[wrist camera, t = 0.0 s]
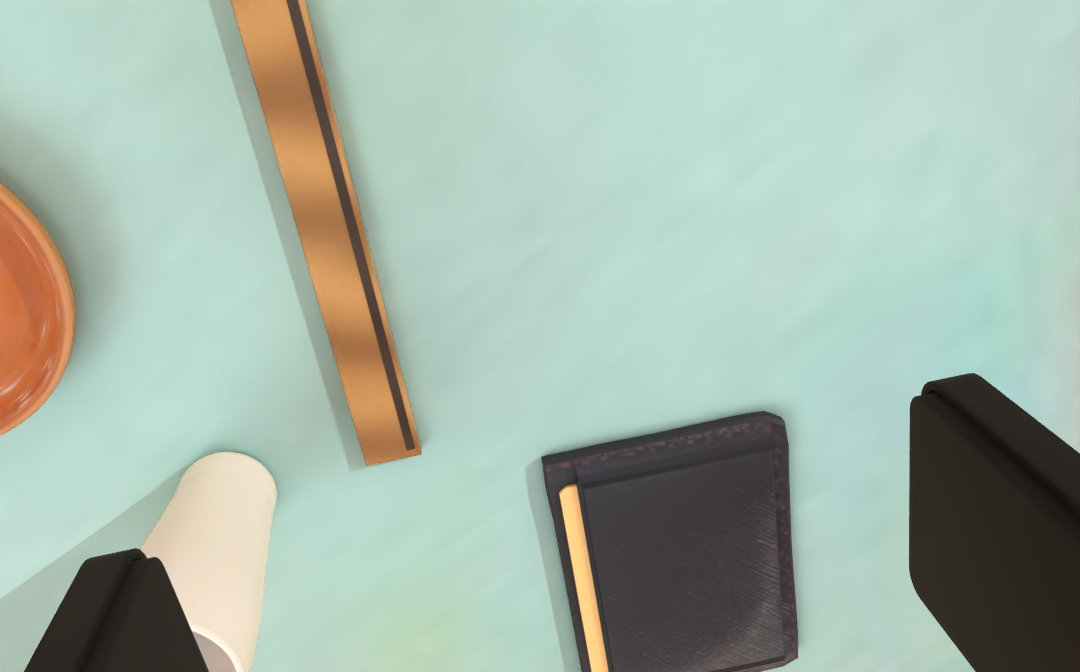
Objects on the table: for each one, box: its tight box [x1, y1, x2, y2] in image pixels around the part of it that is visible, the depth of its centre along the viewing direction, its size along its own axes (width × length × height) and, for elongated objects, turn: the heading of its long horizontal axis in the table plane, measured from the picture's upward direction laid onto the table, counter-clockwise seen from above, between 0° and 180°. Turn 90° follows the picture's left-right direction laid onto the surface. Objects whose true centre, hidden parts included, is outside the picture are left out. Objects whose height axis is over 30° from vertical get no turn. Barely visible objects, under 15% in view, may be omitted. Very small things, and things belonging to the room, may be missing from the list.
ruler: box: [231, 0, 421, 466], centre depth 46 cm, size 30×3×1 cm, turn 10°
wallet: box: [542, 411, 798, 672], centre depth 57 cm, size 20×2×15 cm
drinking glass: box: [140, 452, 277, 672], centre depth 45 cm, size 7×7×15 cm
